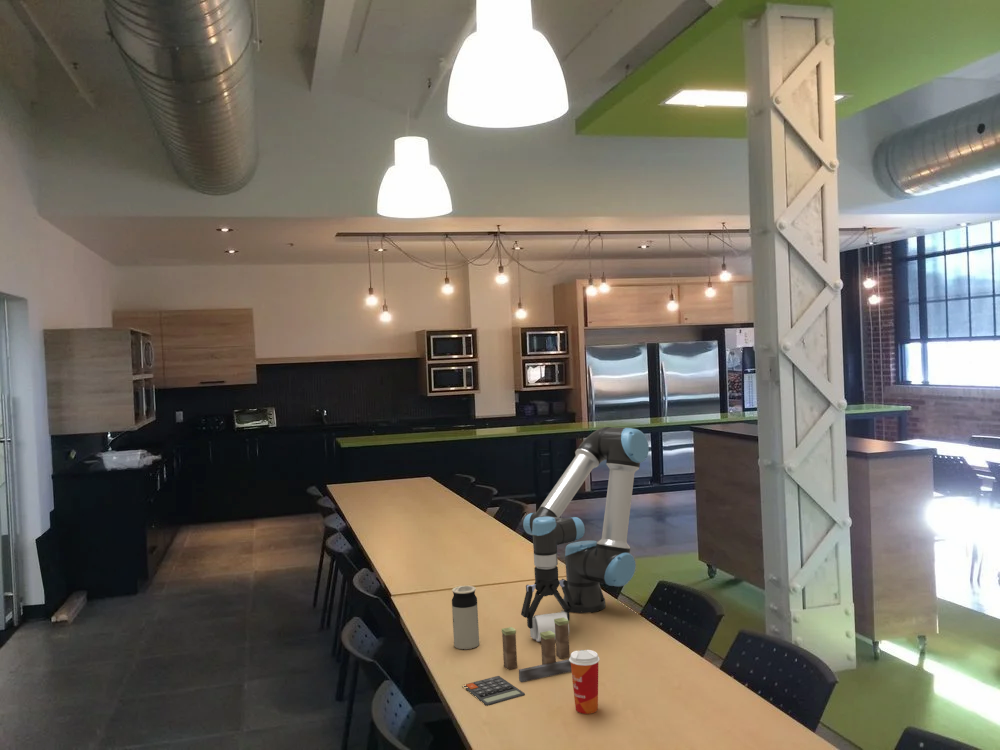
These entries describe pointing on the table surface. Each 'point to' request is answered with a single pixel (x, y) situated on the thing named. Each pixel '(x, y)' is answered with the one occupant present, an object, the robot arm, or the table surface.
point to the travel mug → (465, 617)
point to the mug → (547, 623)
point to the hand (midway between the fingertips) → (549, 634)
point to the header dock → (547, 649)
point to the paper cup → (585, 680)
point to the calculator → (493, 690)
